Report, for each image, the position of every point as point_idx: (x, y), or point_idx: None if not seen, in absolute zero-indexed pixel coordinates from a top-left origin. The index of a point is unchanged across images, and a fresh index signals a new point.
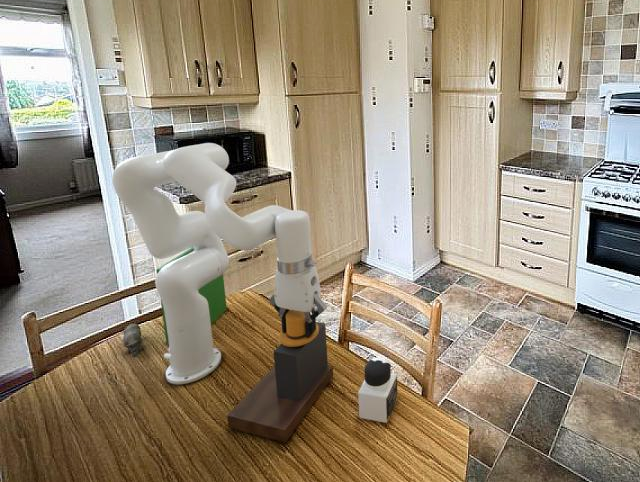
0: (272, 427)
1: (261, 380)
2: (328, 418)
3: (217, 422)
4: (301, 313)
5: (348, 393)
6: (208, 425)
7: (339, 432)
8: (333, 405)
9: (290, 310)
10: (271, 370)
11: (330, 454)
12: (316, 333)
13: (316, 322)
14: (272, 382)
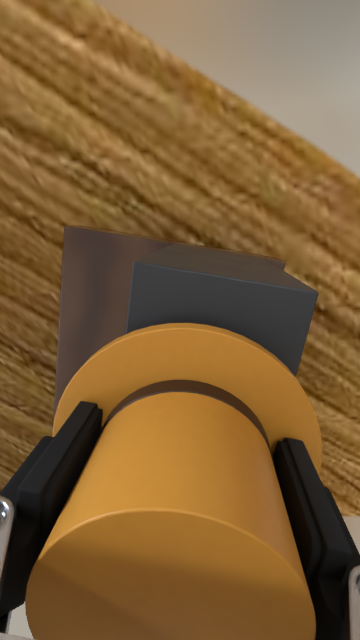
0: None
1: (62, 347)
2: (306, 393)
3: (27, 414)
4: (209, 633)
5: (343, 310)
6: (13, 421)
7: (348, 429)
8: (307, 354)
9: (39, 587)
10: (66, 303)
11: (341, 478)
12: (319, 467)
13: (241, 287)
14: None
